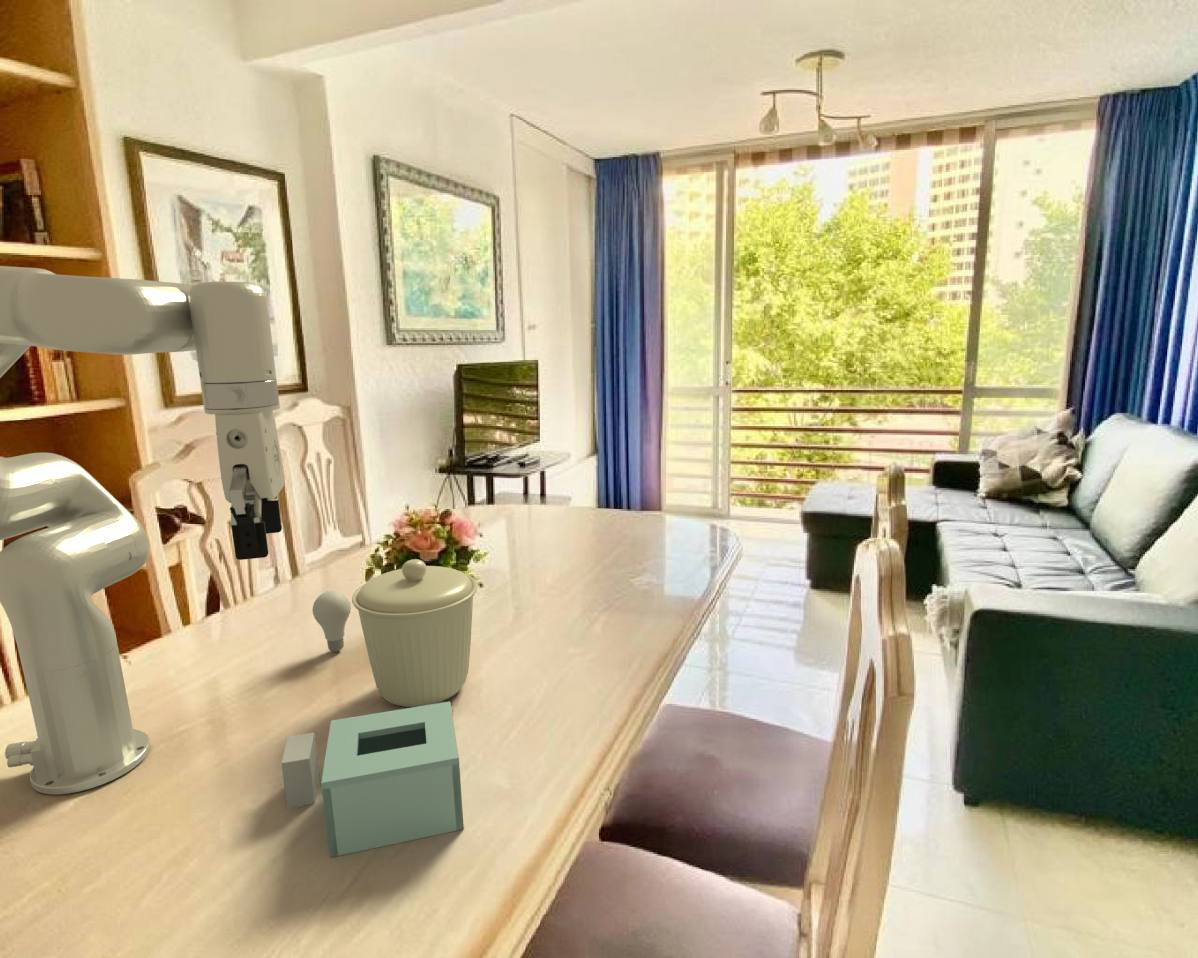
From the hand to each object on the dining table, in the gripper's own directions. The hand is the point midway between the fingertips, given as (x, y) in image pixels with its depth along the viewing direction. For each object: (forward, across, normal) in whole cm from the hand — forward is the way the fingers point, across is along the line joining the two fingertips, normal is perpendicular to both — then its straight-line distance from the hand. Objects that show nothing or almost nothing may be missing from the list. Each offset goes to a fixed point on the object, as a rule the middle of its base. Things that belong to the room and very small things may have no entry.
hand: (260, 544), depth 80 cm
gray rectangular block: (+30, -4, -2) cm, 31 cm away
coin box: (+30, -10, -13) cm, 35 cm away
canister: (+31, +16, -17) cm, 38 cm away
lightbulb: (+31, +34, -3) cm, 46 cm away
